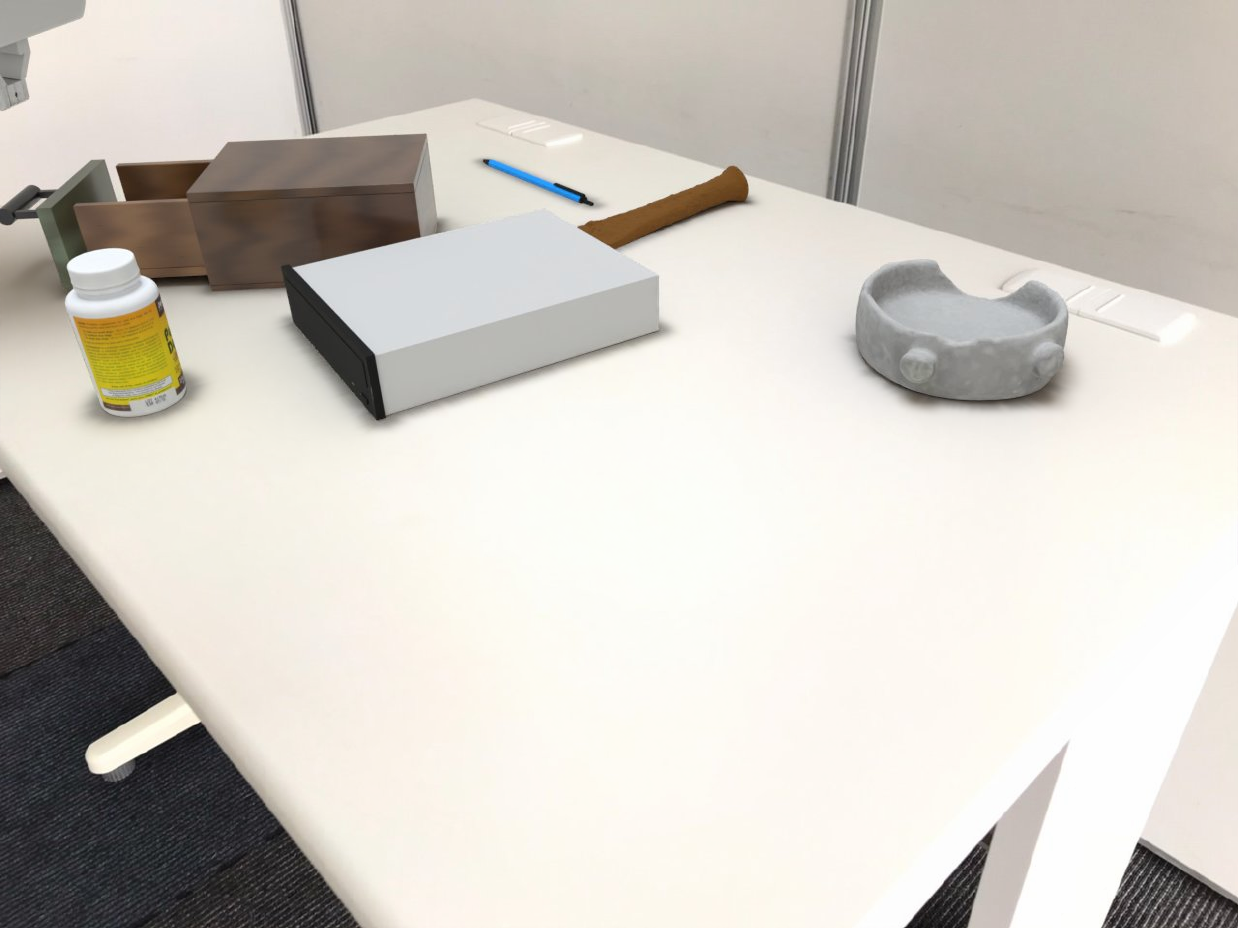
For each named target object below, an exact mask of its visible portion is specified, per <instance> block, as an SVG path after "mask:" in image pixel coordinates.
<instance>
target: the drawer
mask: <svg viewBox="0 0 1238 928" xmlns="http://www.w3.org/2000/svg"><path fill="white" fill-rule="evenodd" d="M213 159H214V158H212V159H189V160H167V161H166V160H165V161H144V162H143V161H142V162H120V163H117V164H116V165H115V169H116V172H117V176H118V179H119V183H120V186H121V189H122V192H123V193H122V194H123V196H124V200H125V201H124V200H123V201H122V200H120V201H118V198H117V194H116V192H115V189H114V185H113V182H112V178H111V176H110V172H109V169H108V165H107V163H106V159H105V158H101V159H90V160H89V161H87V163H86V164H85V165H84V166H82V167H81V168H80V169H79V170H78V171H76V173H74V174H73V175H72V176H71V177H70V178H69V179H68V180H66V181H65V182H64V183H63V184H62V185H61V186H60V187H58V188H55V189H53V188H52V189H41V188H40V187H39V186H37V185H34V184H28V185H27V186H25V187H24V188H23V189H22V190H21V191H19V192H18V193H17V194H16V195H15V196H13V197H12V198H11V199H10V200H8V201H7V202H5V204H3V205H2V206H0V224H1V225H2V226H11V225H13V224H14V223H15V222H17V221H18V220H33V219H38V220H39V223H40V226H41V229H42V231H43V235H44V238H45V240H46V243H47V245H48V248H49V251H50V254H51V257H52V259H53V263H54V265H55V268H56V271H57V274H58V277H59V279H60V282H61V285H62V288H63V290H73V285H72V284H71V279H70V276H69V273H68V270H67V264H68V263H69V262H70V261H71V260H72V259H73V258H75V257H77V256H79V255H82V254H84V253H87V252H91V251H95V250H101V249H108V248H120V249H126V250H129V251H131V252H132V253H133V254H134V256H135V259H136V262H137V265H138V267H139V269H140V274H141V275H142V276H145V277H147V278H149V279H155V278H176V277H177V278H178V277H195V276H208V275H207V271H206V267H205V264H204V260H203V256H202V252H201V249H200V245H199V241H198V237H197V234H196V230H195V226H194V222H193V219H192V215H191V211H190V207H189V202H188V199H187V196H186V193H187V191H188V190H189V189H190V188H191V186H192V185H193V184H194V183H195V181H196V180H197V179H198V178H199V177H200V175H201V174H202V173H203V172H204V170H205V169H206V168H207V167H208V166H209V164H210V163H211V162H212V161H213ZM42 199H44V200H43V202H41V203H40V204H39V205H38V206H37V207H36V208H35V209H32V208H33V207H34V206H35V205H36V204H38V202H40V201H41V200H42Z"/></svg>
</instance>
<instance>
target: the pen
mask: <svg viewBox="0 0 1238 928" xmlns="http://www.w3.org/2000/svg"><path fill="white" fill-rule="evenodd" d="M482 162H483V163H484V164H485V165H487V166H488V167H490V168H493V169H496V170H498V171H500V172H503V173H506V174H508V175H510V176H513V177H515V178H517V179H521V180H523V181H525V182H528V183H530V184H532V185H535V186H536V187H540V188H541V189H544V190H547V191H549V192H551V193H554V194H557V195H559V196H562V197H563V198H566V199H569V200H571V201H574V202H576V203H579V204H585V205H588V206H590V207H593V206H594V202H593V201H591V200H589V199H588V197H587V195H586V194H585V193H583V192H581V191H578V190H575V189H573V188H572V187H568V186H566V185H563V184H561V183H558V182H550V181H547V180H545V179H543V178H540V177H538V176H535V175H532V174H530V173H528V172H525V171H523V170H520V169H518V168H515V167H513V166H510V165H508V164H505V163H503V162H500V161H497V160H495V159H489V158H484V159H482Z"/></svg>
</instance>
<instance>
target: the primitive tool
mask: <svg viewBox="0 0 1238 928" xmlns="http://www.w3.org/2000/svg"><path fill="white" fill-rule="evenodd" d="M749 192H750V189H749V183H748V179H747V177H746V175H745V174H744V172H743V171H742V170H741V169H740V168H739V167H738V166H736V165H729V166H728V167H727V168H726V169H724V170H723V171H722V172H721V174H719V175H716V176H714V177H712V178H710V179H709V180H707V181H704V182H702V183H699V184H695V185H694V186H692V187H690V188H686V189H683V190H681V191H679V192H676V193H674V194H673V193H671V194H669V195H668V196H666V197H664V198H661V199H658V200H655V201H652V202H649V203H646V204H645V205H642V206H639V207H636V208H633V209H629V210H627V211H625V212H621V213H618V214H614V215H612V216H608V217H606V218H603V219H596V220H589V221H587V222H585V223H584V224H583V225H578V226H576V227H577V228H579V229H580V230H582V231H584V232H586V233H587V234H589V235H591V236H592V237H594V238H596V239H598V240H599V241H601V242H603V243H605V244H606V245H608V246H610V247H611V248H613V249H615V250H616V249H619V248H621V247H624V246H625V245H627V244H630V243H632V242H634V241H636V240H638V239H640V238H642V237H645V236H647V235H649V234H651V233H653V232H655V231H658V230H660V229H661V228H664V227H667V226H670V225H673V224H674V223H677V222H679V221H682V220H685V219H688V218H690V217H692V216H694V215H696V214H698V213H700V212H704V211H706V210H707V209H711V208H713V207H716V206H720V205H722V204H724V203H727V202H740V203H741V202H744V201H746V200H747V199H748V197H749Z"/></svg>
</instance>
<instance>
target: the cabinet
mask: <svg viewBox="0 0 1238 928" xmlns="http://www.w3.org/2000/svg"><path fill="white" fill-rule="evenodd" d="M428 141H429V140H428V134H427V133H406V134H386V135H385V134H381V135H361V136H359V135H358V136H337V137H313V138H311V137H310V138H290V139H289V138H287V139H286V138H285V139H266V140H241V141H240V140H239V141H238V140H237V141H227V142H226V143H225V144H224V146H223V147H222V148H221V150H220V151H219V152H218V153H217V155H216V156H215V157H214V158H212V159H213V161H212V162H211V163H210V164H209V166H208V167H207V168H206V169H205V170H204V172H203V173H202V174H201V175H200V177H199V178H198V179H197V180H196V181H195V183H194V184H193V185H192V186H191V188H190V189H189V190H188V191H187V193H186V196H187V199H188V202H189V207H190V211H191V215H192V219H193V222H194V226H195V230H196V234H197V237H198V241H199V245H200V249H201V252H202V256H203V260H204V264H205V267H206V271H207V275H206V276H207V278H208V282H209V285H210V290H211V292H229V291H249V290H268V289H286V287H285V283H284V278H283V274H282V269H281V266H283V265H288V264H289V265H290V266H291V267H292V268H293V267H297V266H302V265H306V264H310V263H314V262H319V261H323V260H327V259H331V258H336V257H340V256H344V255H348V254H353V253H357V252H361V251H365V250H370V249H374V248H378V247H382V246H387V245H391V244H395V243H399V242H404V241H408V240H412V239H416V238H421V237H425V236H429V235H433V234H437V229H438V223H439V220H438V213H437V205H436V197H435V189H434V187H435V186H434V181H433V173H432V172H433V171H432V163H431V156H430V149H429V148H430V147H429V142H428Z"/></svg>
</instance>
